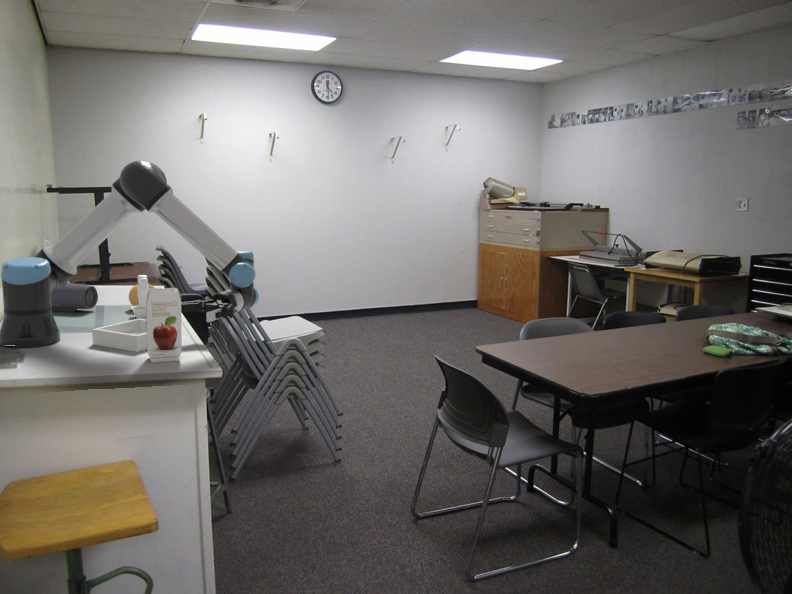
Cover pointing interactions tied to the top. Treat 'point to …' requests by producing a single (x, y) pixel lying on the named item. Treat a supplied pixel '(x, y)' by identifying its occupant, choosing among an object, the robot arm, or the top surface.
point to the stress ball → (135, 295)
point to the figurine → (141, 297)
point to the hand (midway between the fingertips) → (186, 315)
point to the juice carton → (163, 324)
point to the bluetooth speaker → (74, 297)
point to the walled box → (122, 335)
